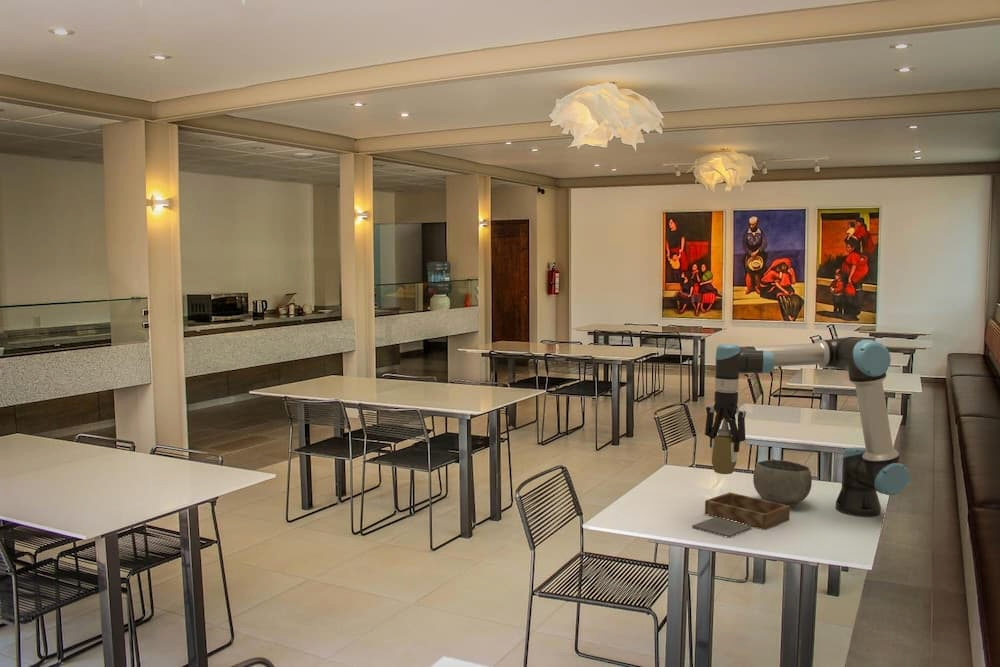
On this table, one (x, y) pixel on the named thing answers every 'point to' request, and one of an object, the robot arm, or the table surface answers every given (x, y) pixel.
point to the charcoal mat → (721, 527)
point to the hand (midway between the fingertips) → (724, 459)
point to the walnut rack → (747, 510)
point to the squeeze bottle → (723, 451)
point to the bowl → (782, 481)
